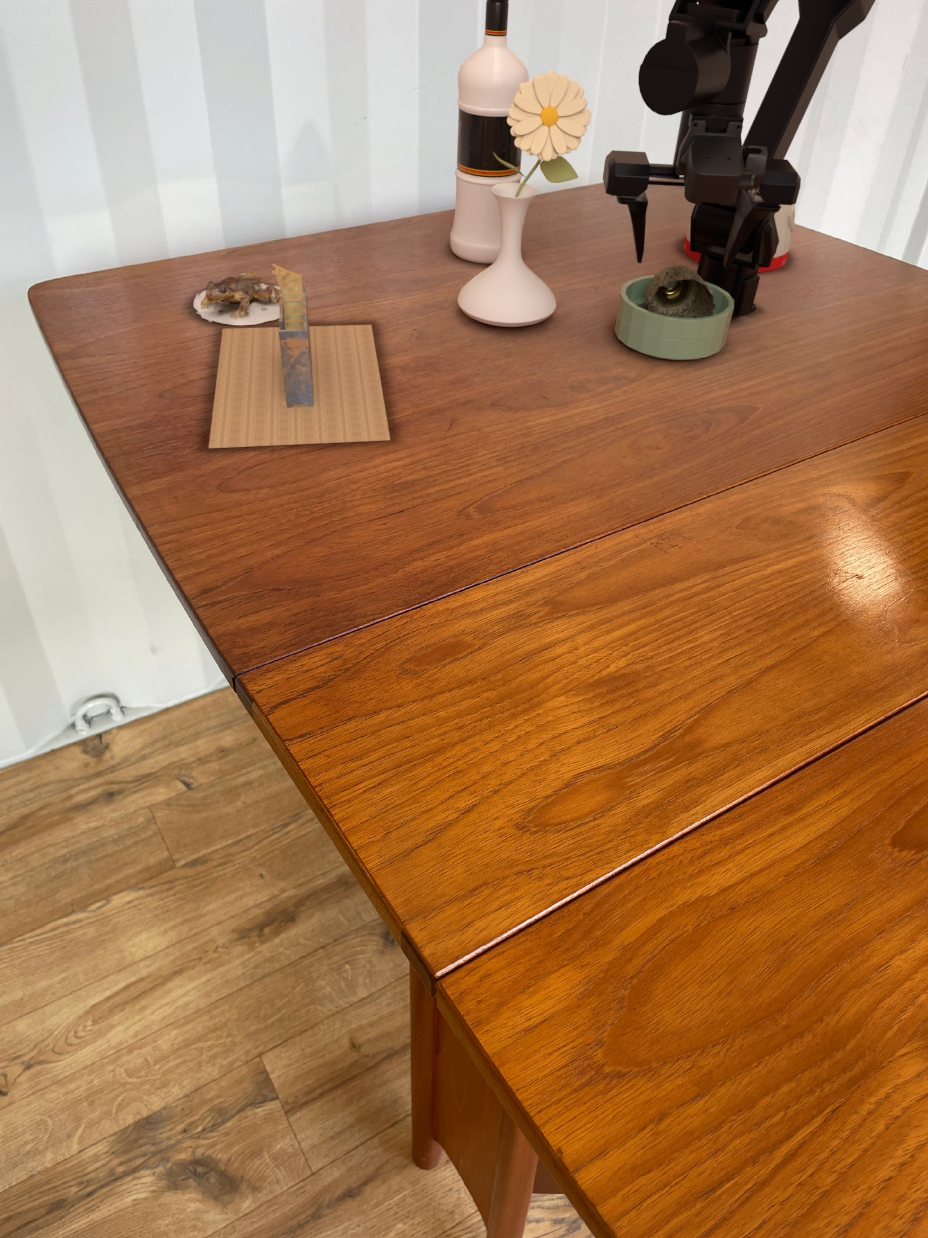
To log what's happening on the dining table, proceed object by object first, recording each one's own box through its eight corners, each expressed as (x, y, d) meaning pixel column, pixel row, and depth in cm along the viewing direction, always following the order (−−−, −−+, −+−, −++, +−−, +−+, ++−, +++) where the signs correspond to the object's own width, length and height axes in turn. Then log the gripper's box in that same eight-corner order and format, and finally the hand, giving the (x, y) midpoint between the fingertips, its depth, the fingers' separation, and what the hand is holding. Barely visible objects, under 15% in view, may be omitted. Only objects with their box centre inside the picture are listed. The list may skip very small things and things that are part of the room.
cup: (716, 264, 100) (730, 296, 94) (679, 321, 104) (690, 355, 99) (659, 237, 98) (669, 268, 92) (624, 296, 102) (632, 329, 97)
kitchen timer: (785, 241, 125) (817, 122, 115) (788, 277, 115) (824, 150, 105) (685, 230, 127) (708, 112, 117) (680, 264, 117) (705, 139, 107)
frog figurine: (252, 335, 97) (247, 301, 95) (169, 310, 101) (163, 276, 99) (316, 300, 105) (313, 267, 102) (236, 277, 109) (232, 245, 106)
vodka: (478, 271, 113) (491, -17, 93) (435, 248, 119) (439, -29, 99) (533, 257, 118) (557, -21, 98) (490, 235, 123) (504, -32, 103)
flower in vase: (441, 324, 101) (446, 70, 84) (478, 289, 109) (489, 50, 92) (550, 347, 98) (579, 88, 81) (580, 309, 106) (611, 65, 89)
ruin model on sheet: (222, 328, 98) (208, 237, 92) (371, 324, 101) (368, 235, 94) (208, 448, 80) (190, 345, 74) (390, 440, 82) (388, 339, 76)
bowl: (591, 335, 101) (597, 291, 97) (660, 308, 107) (668, 266, 103) (676, 375, 94) (686, 330, 91) (745, 344, 100) (756, 301, 97)
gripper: (623, 113, 78) (599, 289, 89) (837, 124, 78) (787, 299, 88) (614, 84, 86) (592, 249, 97) (807, 95, 86) (764, 258, 97)
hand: (682, 264), depth 94 cm, fingers open, 9 cm apart
